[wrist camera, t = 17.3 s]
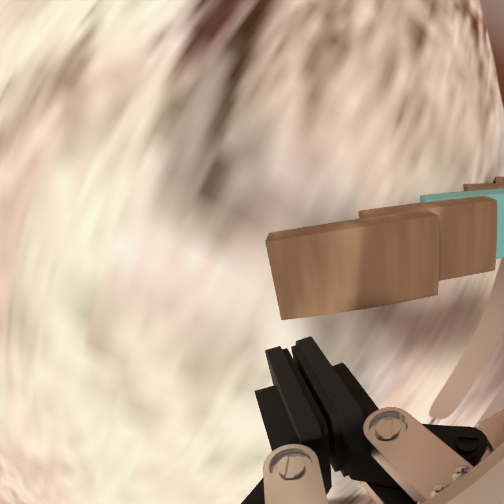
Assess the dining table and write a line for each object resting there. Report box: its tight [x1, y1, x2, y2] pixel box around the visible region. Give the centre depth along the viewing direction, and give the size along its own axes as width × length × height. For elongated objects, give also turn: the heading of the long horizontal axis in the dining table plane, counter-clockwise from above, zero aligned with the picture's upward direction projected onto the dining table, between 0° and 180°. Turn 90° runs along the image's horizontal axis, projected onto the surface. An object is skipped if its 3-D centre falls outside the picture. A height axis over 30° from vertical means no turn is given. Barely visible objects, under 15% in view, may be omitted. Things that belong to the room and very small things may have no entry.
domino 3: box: [420, 188, 504, 259], centre depth 17 cm, size 2×5×10 cm
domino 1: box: [266, 209, 439, 320], centre depth 17 cm, size 2×5×10 cm
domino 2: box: [359, 195, 497, 281], centre depth 17 cm, size 2×5×10 cm
